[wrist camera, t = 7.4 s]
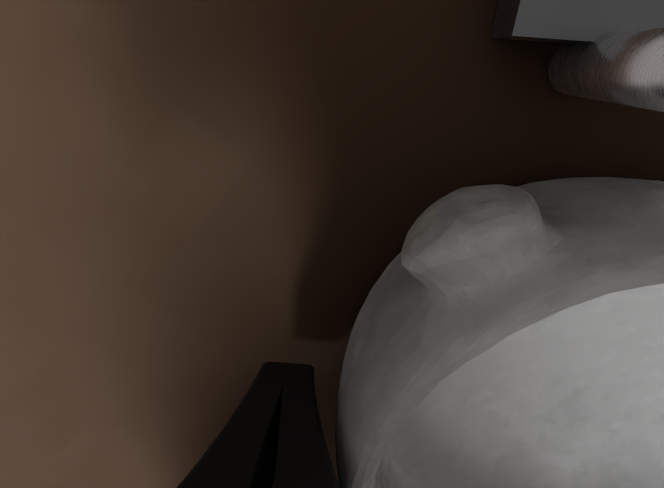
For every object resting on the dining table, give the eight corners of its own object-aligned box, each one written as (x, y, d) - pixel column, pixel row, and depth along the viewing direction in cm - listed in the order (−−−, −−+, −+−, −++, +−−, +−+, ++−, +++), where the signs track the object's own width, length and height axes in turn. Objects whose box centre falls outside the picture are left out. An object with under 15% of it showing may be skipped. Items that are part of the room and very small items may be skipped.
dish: (332, 149, 10) (321, 232, 5) (913, 138, 9) (1464, 220, 5) (341, 495, 16) (339, 666, 12) (682, 501, 16) (818, 681, 11)
